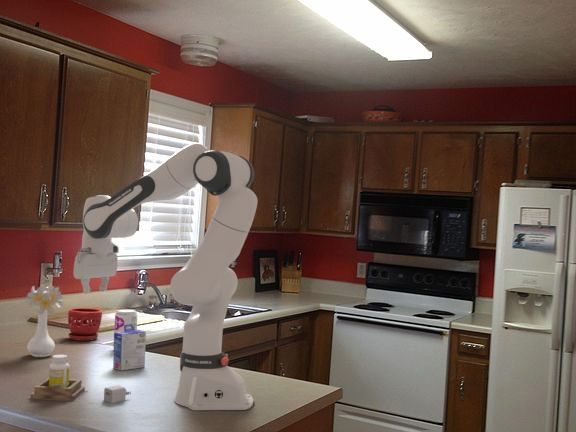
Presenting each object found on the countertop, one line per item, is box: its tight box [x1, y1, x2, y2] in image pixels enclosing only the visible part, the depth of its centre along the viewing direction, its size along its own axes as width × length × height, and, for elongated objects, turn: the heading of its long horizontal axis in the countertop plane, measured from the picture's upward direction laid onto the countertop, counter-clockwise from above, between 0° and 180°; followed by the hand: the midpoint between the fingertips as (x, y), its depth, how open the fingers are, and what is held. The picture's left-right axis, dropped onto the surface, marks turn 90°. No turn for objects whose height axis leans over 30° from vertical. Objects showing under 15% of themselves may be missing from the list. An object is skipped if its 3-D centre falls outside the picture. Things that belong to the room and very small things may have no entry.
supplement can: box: [113, 308, 138, 334], centre depth 261 cm, size 8×8×15 cm
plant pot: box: [67, 307, 103, 341], centre depth 278 cm, size 13×13×12 cm
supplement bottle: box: [48, 354, 70, 388], centre depth 195 cm, size 5×5×10 cm
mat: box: [26, 390, 89, 402], centre depth 195 cm, size 14×11×1 cm
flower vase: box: [23, 283, 65, 358], centre depth 244 cm, size 13×18×25 cm
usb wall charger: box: [103, 385, 132, 404], centre depth 193 cm, size 4×7×4 cm, turn 139°
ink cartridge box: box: [112, 324, 147, 372], centre depth 233 cm, size 10×6×14 cm, turn 137°
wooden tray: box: [29, 377, 86, 401], centre depth 195 cm, size 12×10×3 cm
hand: (95, 292), depth 213 cm, fingers open, 8 cm apart
